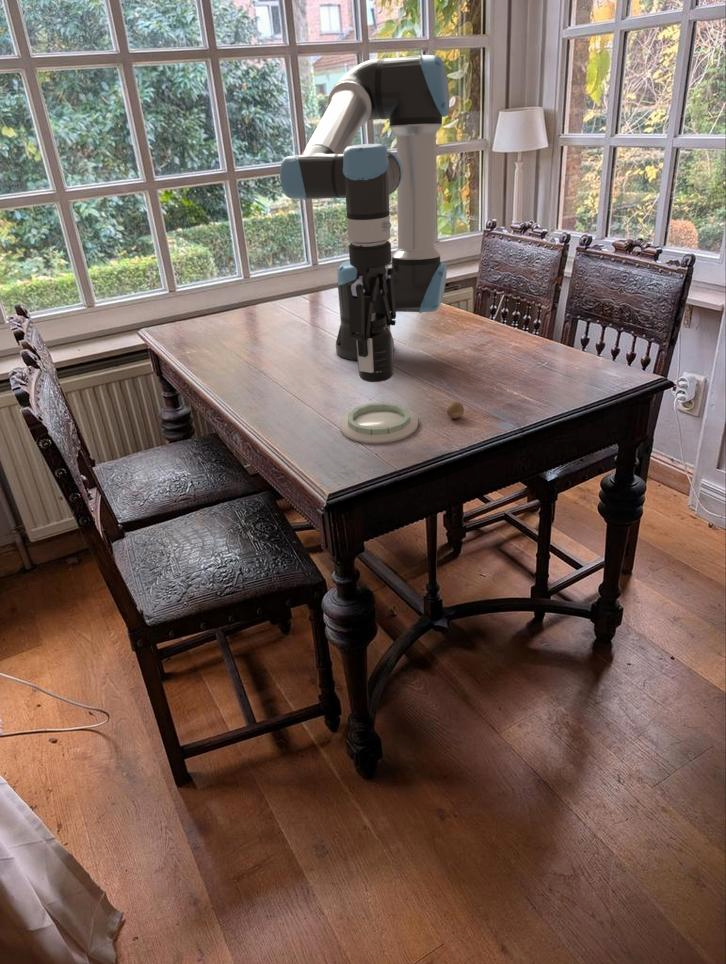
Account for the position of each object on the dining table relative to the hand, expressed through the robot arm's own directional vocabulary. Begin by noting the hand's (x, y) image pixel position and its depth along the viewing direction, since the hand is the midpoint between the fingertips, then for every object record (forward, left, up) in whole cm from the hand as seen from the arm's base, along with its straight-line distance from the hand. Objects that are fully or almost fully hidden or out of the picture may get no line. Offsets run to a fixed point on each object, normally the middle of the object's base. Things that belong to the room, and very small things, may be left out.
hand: (375, 364), depth 132 cm
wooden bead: (+13, +9, -13) cm, 21 cm away
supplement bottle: (0, 0, -3) cm, 3 cm away
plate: (0, 0, -13) cm, 13 cm away
